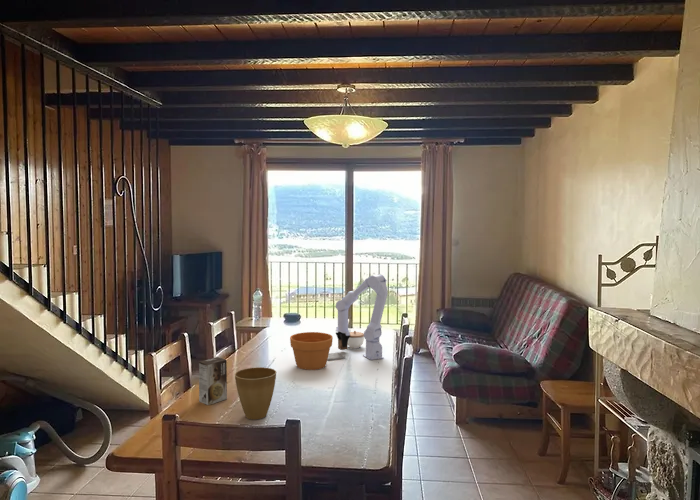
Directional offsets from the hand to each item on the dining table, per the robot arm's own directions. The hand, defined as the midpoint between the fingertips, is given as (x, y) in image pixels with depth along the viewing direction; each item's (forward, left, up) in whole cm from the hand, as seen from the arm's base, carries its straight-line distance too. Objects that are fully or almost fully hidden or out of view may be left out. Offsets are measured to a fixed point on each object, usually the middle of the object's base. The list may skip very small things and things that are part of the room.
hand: (342, 346), depth 270 cm
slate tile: (-8, +9, -3) cm, 13 cm away
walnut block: (0, 0, -2) cm, 2 cm away
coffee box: (-50, +77, -4) cm, 92 cm away
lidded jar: (+8, -11, -4) cm, 14 cm away
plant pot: (-72, +65, -4) cm, 97 cm away
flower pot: (-19, +25, -4) cm, 32 cm away
